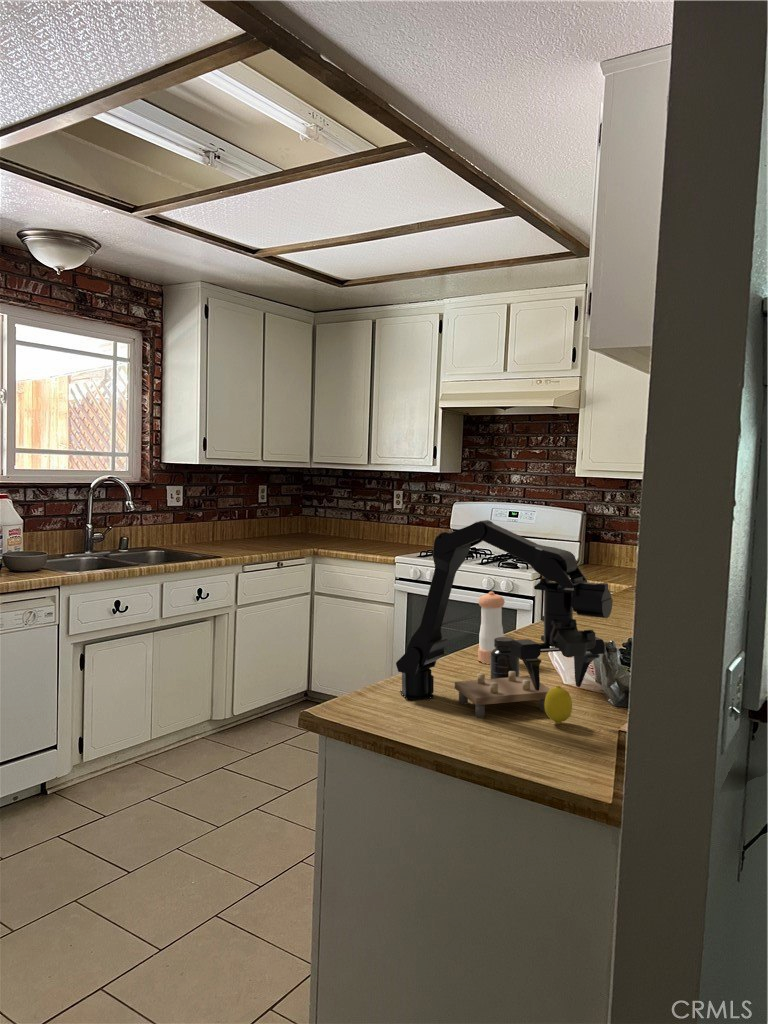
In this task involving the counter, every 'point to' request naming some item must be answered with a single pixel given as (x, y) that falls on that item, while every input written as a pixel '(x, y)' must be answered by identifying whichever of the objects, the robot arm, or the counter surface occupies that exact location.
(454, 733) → the counter surface
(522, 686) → the peg shelf
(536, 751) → the counter surface
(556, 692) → the lemon
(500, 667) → the supplement bottle
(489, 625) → the pepper shaker
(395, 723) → the counter surface
